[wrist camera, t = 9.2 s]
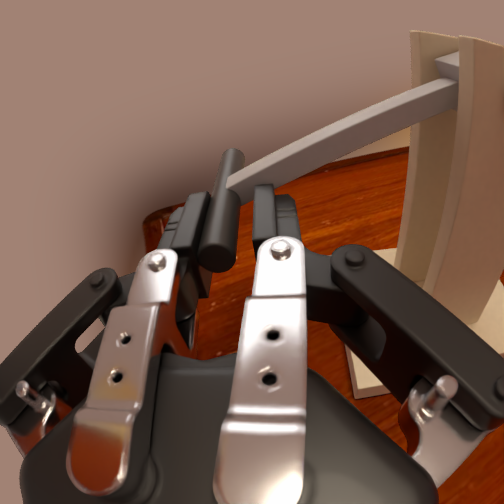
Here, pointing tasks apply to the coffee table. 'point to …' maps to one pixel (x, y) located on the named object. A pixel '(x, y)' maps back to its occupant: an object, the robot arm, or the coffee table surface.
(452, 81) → the grey t-shaped bar
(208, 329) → the coffee table surface
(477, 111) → the bracket
